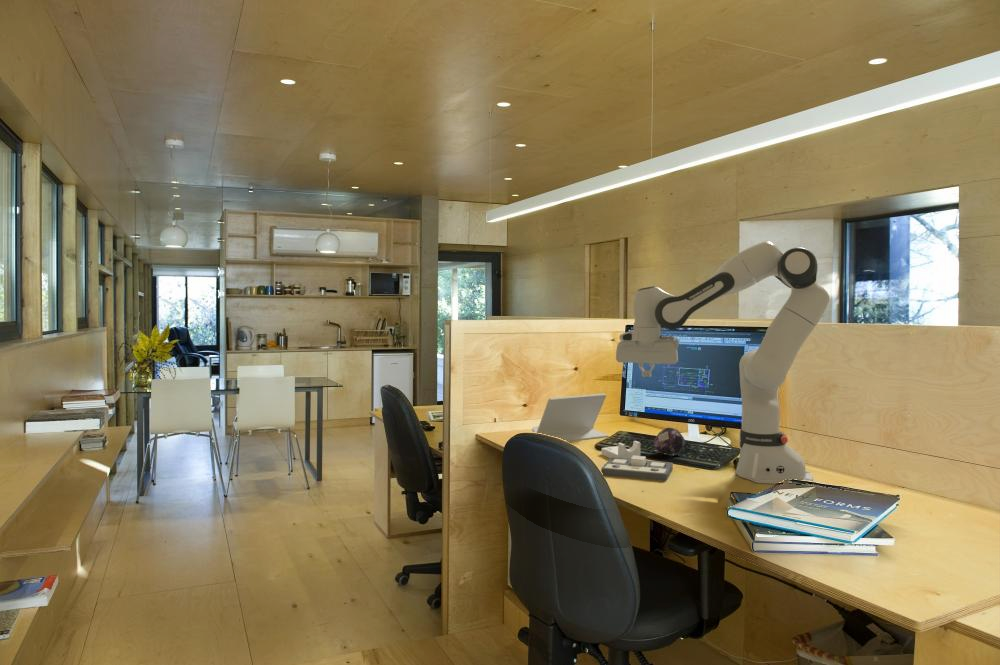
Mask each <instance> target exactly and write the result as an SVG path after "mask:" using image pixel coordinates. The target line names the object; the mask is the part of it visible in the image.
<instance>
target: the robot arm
mask: <svg viewBox="0 0 1000 665" xmlns="http://www.w3.org/2000/svg"><path fill="white" fill-rule="evenodd" d="M818 269H819V267H818V261H817V258H816V256H815V254H814V253H813V252H812V251H811V250H809V249H808V248H804V247H801V246H800V247H799V246H798V247H793V248H790V249H788V250H786V251H785V252H782V251H781V250H780V248H779V247H778V246H777V245H776V244H775V243H773V242H771V241H762V242H759V243H756V244H754V245H752V246H749V247H747V248H745V249H744V250H741V251H740V252H738V253H737V254H734V255H733V256H732V257H730V258H729V259H728V260H726V261H725V262H723V264H721V265H720V266H719V267H718V269H717V270H716V271H715V272H714V273H713V274H712V275H711V276H710V277H709V278H707V280H706V281H704V282H702V283H701V284H699V285H697V286H696V287H694V288H692V289H691V290H688V291H687V292H686V293H683V294H682V295H678V296H677V295H674V294H671V293H669V292H666V291H664V290H663V289H661V288H660V287H658V286H657V285H653V286H646V287H642V288H639V289H638V290H637V291H636V292H635V293H634V299H633V317H634V322H633V327H632V328H633V330H629V331H627V332H623V333H620V335H619V342H618V343H617V344H616V345H617V346H616V352H615V360H616V362H617V363H627V364H628V363H629V364H633V363H634V364H638V368H639V370H640V371H641V377H644V378H645V377H646V378H647V377H648V378H651V377H652V371H653V370H654V368H655V366H656V364H659V365H675V364H678V361H679V353H678V349H679V347H680V341H679V339H678V338H677V337H676V336H674V335H669V336H668V335H661V333H662V331H661V329H662V328H664V329H666V330H677V329H679V328H680V327H682V326H683V325H685V323H686V322H687V320H688V319H689V317H691V315H692V314H693V313H695V312H696V311H698V310H699V309H701V308H703V307H704V306H705V305H707V304H709V303H711V302H712V301H714V300H716V299H719V298H721V297H724V296H727V295H733V294H735V293H738V292H741V291H743V290H746V289H748V288H750V287H752V286H754V285H756V284H758V283H759V282H761V281H762V280H765V279H766V278H769V277H772V276H773V277H774V278H775V279H777V280H779V281H780V282H781V283H782V284H783V285H785V286H786V287H787V288H789V289H791V292H790V295H789V297H788V299H787V300H786V301H785V303H784V304H783V306H782V307H781V309H780V310H779V311H778V313H777V314H776V316H775V317H774V318H773V319H772V321H771V323H770V324H769V326H768V327H767V329H766V332H765V334H764V336H763V339H762V341H761V343H760V345H759V347H758V349H752V350H749V351H747V352H745V353H744V354H743V355H742V356H741V358H740V360H739V362H738V363H739V366H738V368H739V384H740V385H739V386H740V396H741V429H740V432H739V447H740V449H739V457H738V462H737V466H736V469H735V472H734V473H735V474H736V475H737V476H738V477H740V478H744V479H747V480H749V481H752V482H754V483H757V484H769V485H771V484H773V485H774V484H775V485H776V483H779V482H782V481H783V480H785V479H797V480H804V481H814V476H813V474H812V473H811V472H810V471H808V470H807V469H806V464H805V461H804V459H803V457H802V456H801V454H799V453H798V452H796V451H795V449H792V448H791V447H790V446H789V445H787V442H789V438H788V437H787V434H786V433H784V432H782V431H780V420H781V419H780V414H781V413H780V412H781V408H780V403H779V402H780V401H779V395H778V388H779V387H781V386H783V384H784V383H785V381H786V378H787V374H788V372H789V371H790V369H791V367H792V365H793V363H794V361H795V359H796V357H797V355H798V352H799V351H800V349H801V348H802V346H803V344H804V343H805V342H806V340H807V339H808V337H809V336H810V335H811V334H812V332H813V330H815V328H816V326H817V325H818V323H819V322H820V320H821V318H822V317H823V315H824V313H825V311H826V309H827V307H828V304H829V302H830V295H829V292H828V291H827V290H826V289H825V288H824V287H823V286H821V285H819V283H818V282H817V278H818V277H817V276H818V275H817V274H818ZM661 327H662V328H661ZM644 364H649V367H650V369H649V370H645V368H644V367H643V366H644Z"/></svg>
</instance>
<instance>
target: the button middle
mask: <svg viewBox="0 0 1000 665" xmlns="http://www.w3.org/2000/svg"><path fill="white" fill-rule="evenodd" d="M646 460H647V457H646V456H643V455H640V456H634V455H633V457H632V458H631V466H640V467H644V466H645V465H646Z"/></svg>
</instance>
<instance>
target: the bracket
mask: <svg viewBox="0 0 1000 665" xmlns="http://www.w3.org/2000/svg"><path fill="white" fill-rule="evenodd" d="M633 455H634V456H641V442H640V441H637V440H633V442H632V446H631V447H630V448H626V445H625V443H622V442H618V443H617V445H616V446H615V445H614V446H607V447H601V456H604V457H607V458H608V459H610V458H611V457H613V458H624V459H631V458H632V457H633Z"/></svg>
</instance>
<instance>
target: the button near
mask: <svg viewBox="0 0 1000 665" xmlns="http://www.w3.org/2000/svg"><path fill="white" fill-rule="evenodd" d="M650 467H651V468H662V469H665V463H658V462H652V463H651V465H650Z"/></svg>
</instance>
